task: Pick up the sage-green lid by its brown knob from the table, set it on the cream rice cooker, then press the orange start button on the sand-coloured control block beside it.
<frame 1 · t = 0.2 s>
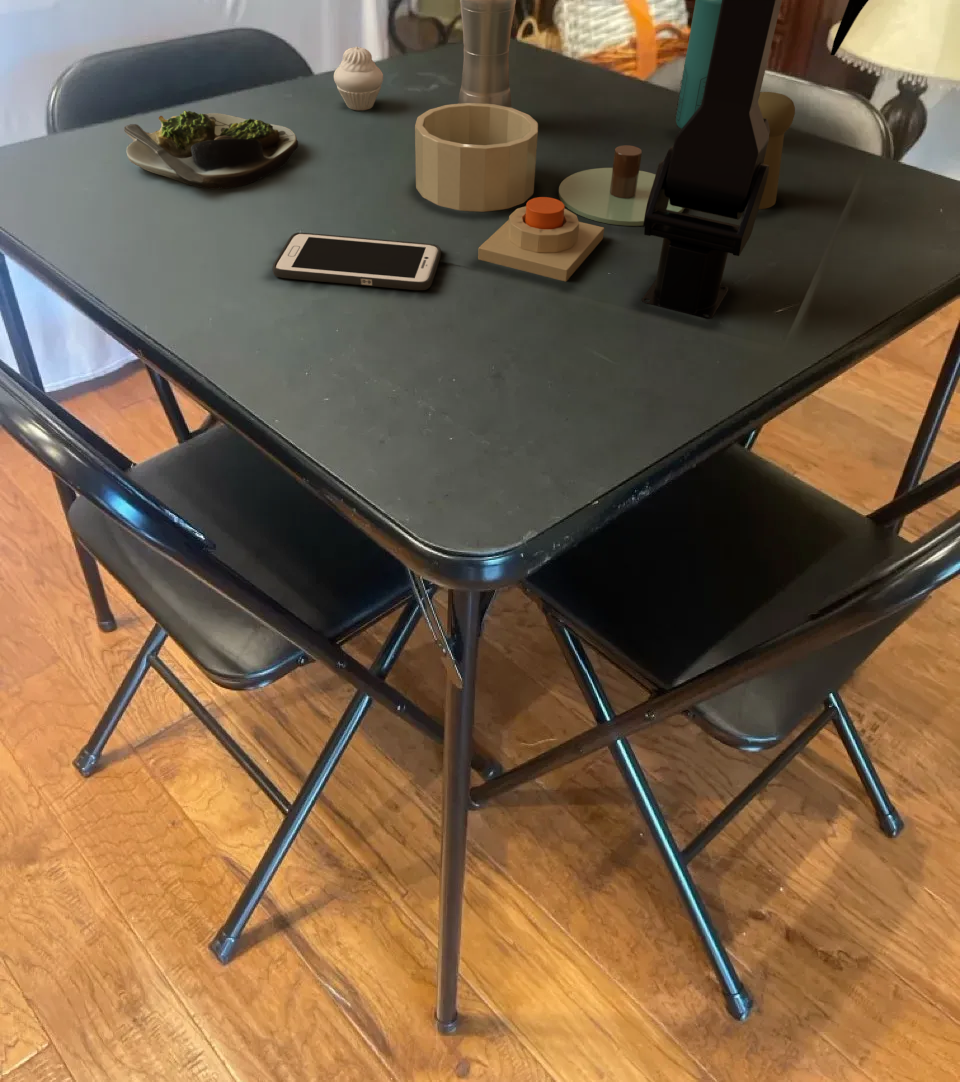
hand: (786, 47, 92), 14 cm above the table, tool pointing down, fingers open, 9 cm apart
muffin: (360, 107, 117), on the table
beverage bottle: (697, 138, 113), on the table
salad plate: (216, 161, 104), on the table
cell phone: (359, 268, 86), on the table
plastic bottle: (483, 130, 113), on the table
control block: (541, 253, 90), on the table
lid: (621, 197, 98), point 1 cm above the table
cork: (746, 204, 100), on the table
start button: (544, 214, 87), point 4 cm above the table, slide at 0.1 cm
pot: (475, 191, 100), on the table
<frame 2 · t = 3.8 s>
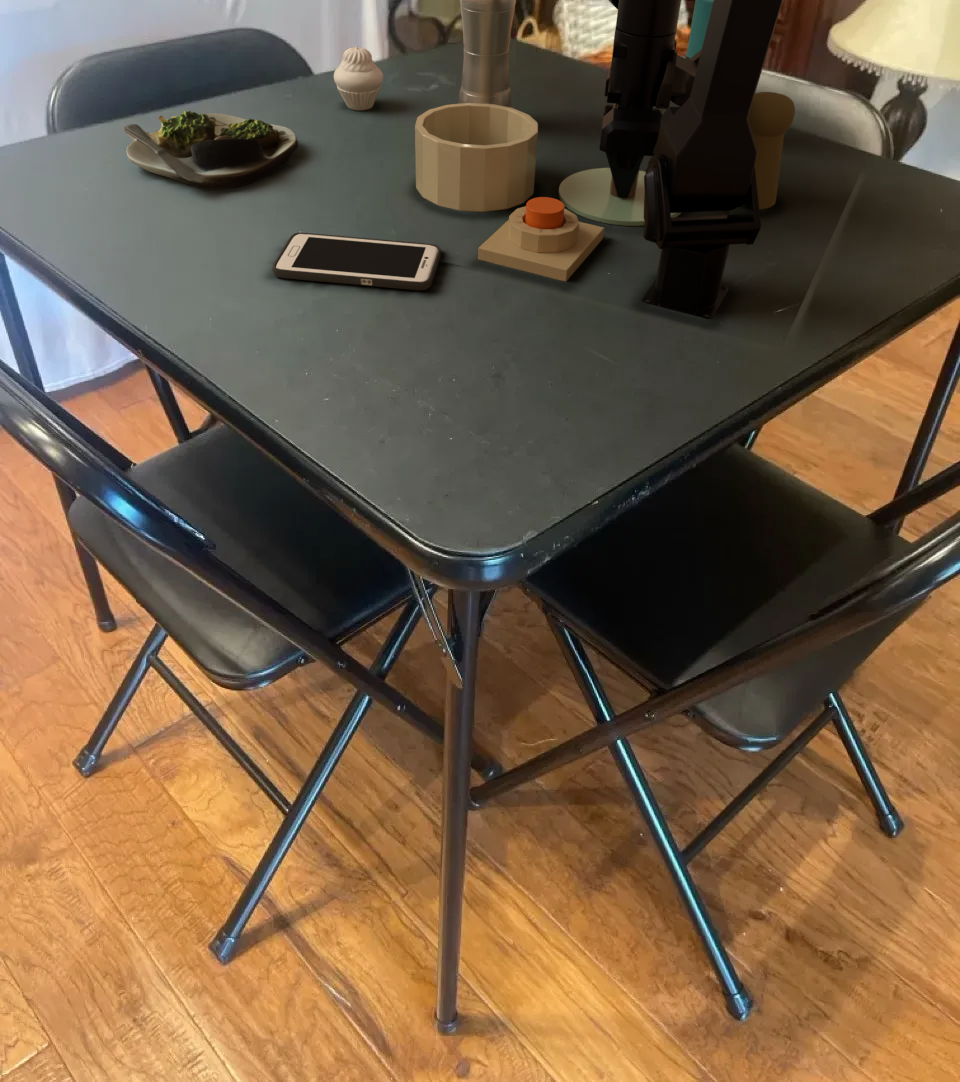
hand: (622, 191, 98), 1 cm above the table, tool pointing down, fingers closed on lid, 3 cm apart
lid: (621, 197, 98), point 1 cm above the table, touching gripper
everything else where it was.
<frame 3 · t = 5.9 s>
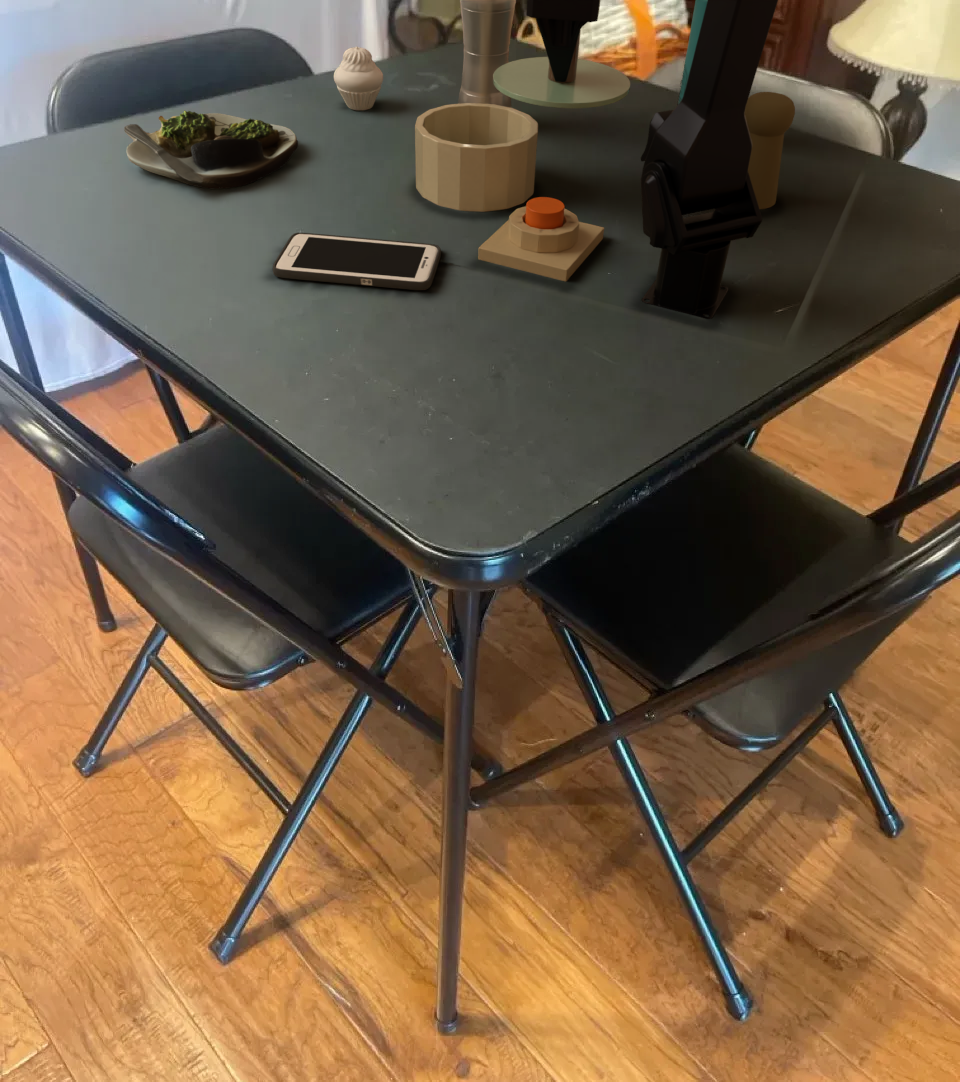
hand: (561, 76, 91), 12 cm above the table, tool pointing down, fingers closed on lid, 3 cm apart
lid: (561, 83, 91), point 11 cm above the table, touching gripper
everything else where it was.
when the fingers open (8 cm above the table, at t = 8.1 s): lid stays where it is, resting on pot.
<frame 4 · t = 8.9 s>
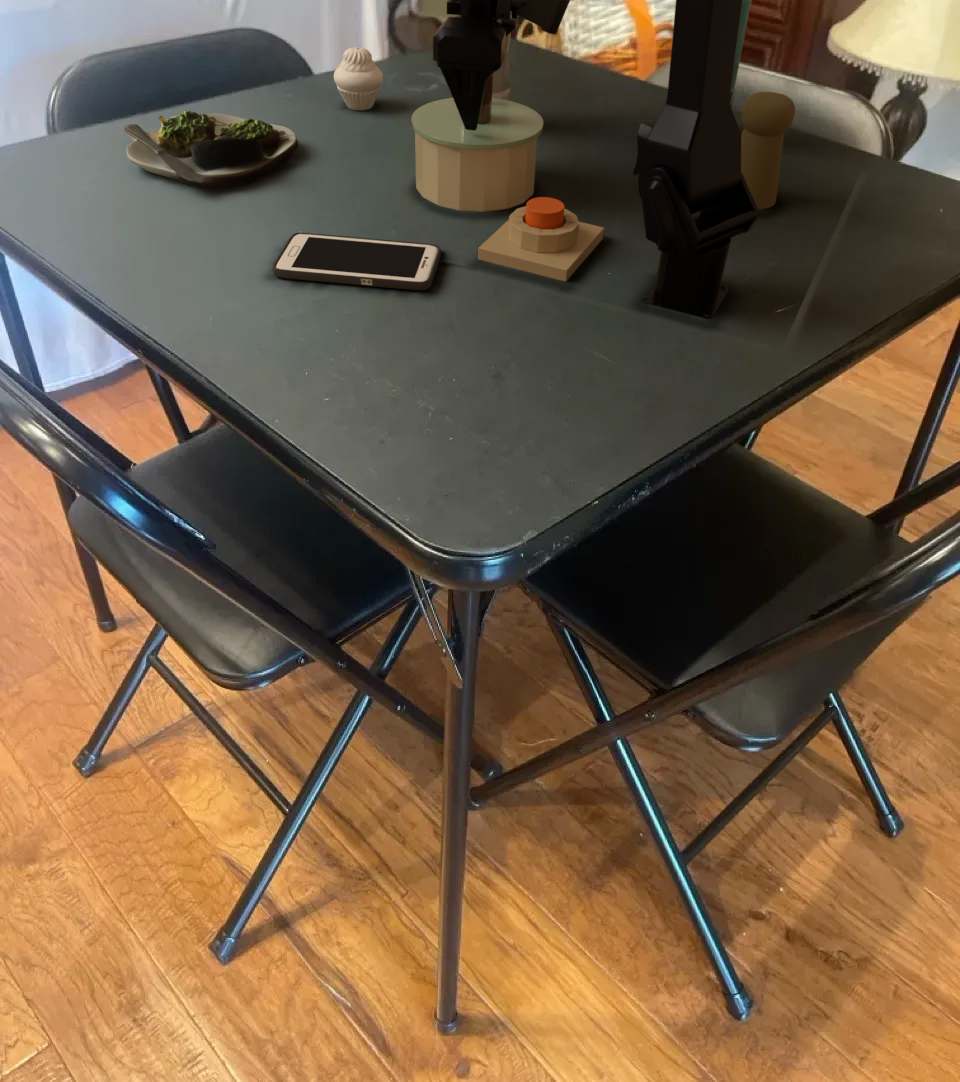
hand: (477, 113, 94), 8 cm above the table, tool pointing down, fingers open, 9 cm apart
lid: (477, 124, 95), point 7 cm above the table, touching pot
everything else where it was.
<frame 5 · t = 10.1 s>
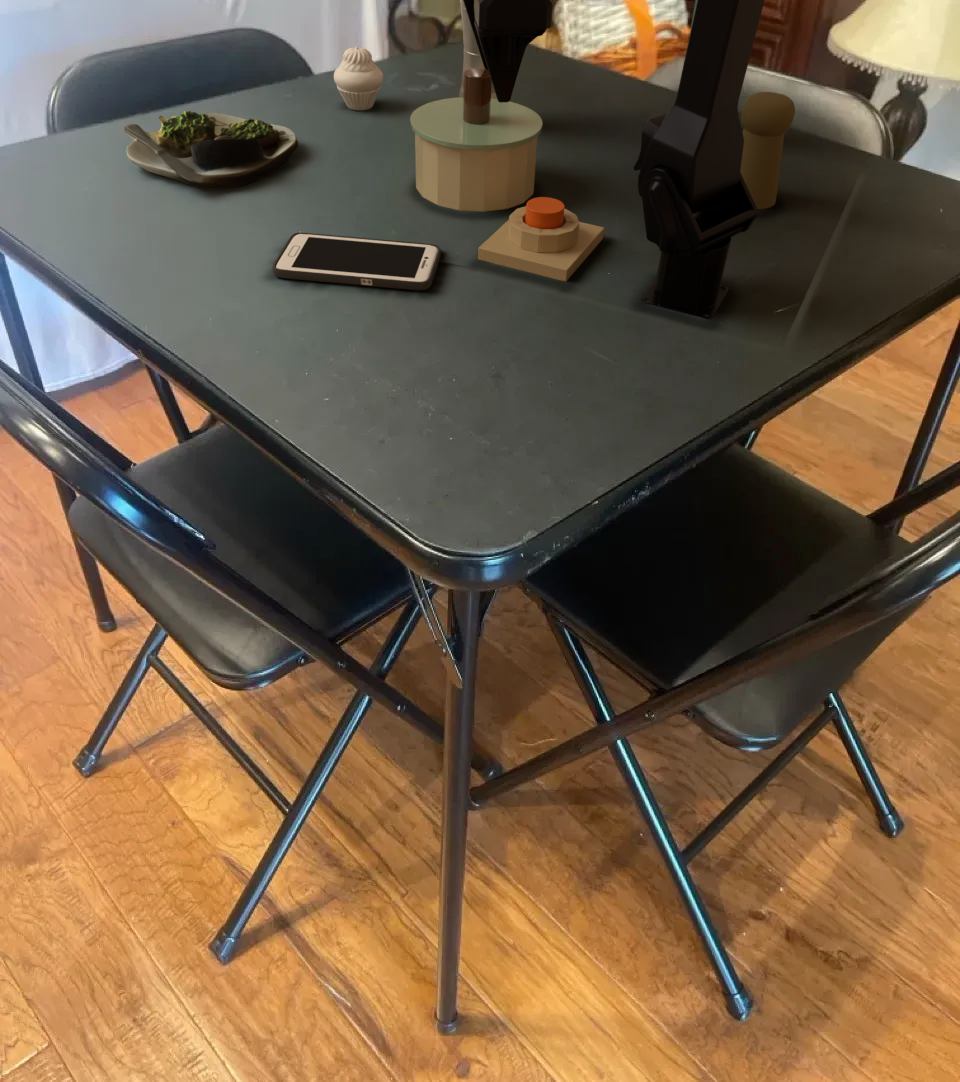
hand: (496, 84, 89), 12 cm above the table, tool pointing down, fingers open, 9 cm apart
lid: (476, 124, 95), point 7 cm above the table, touching gripper
everything else where it was.
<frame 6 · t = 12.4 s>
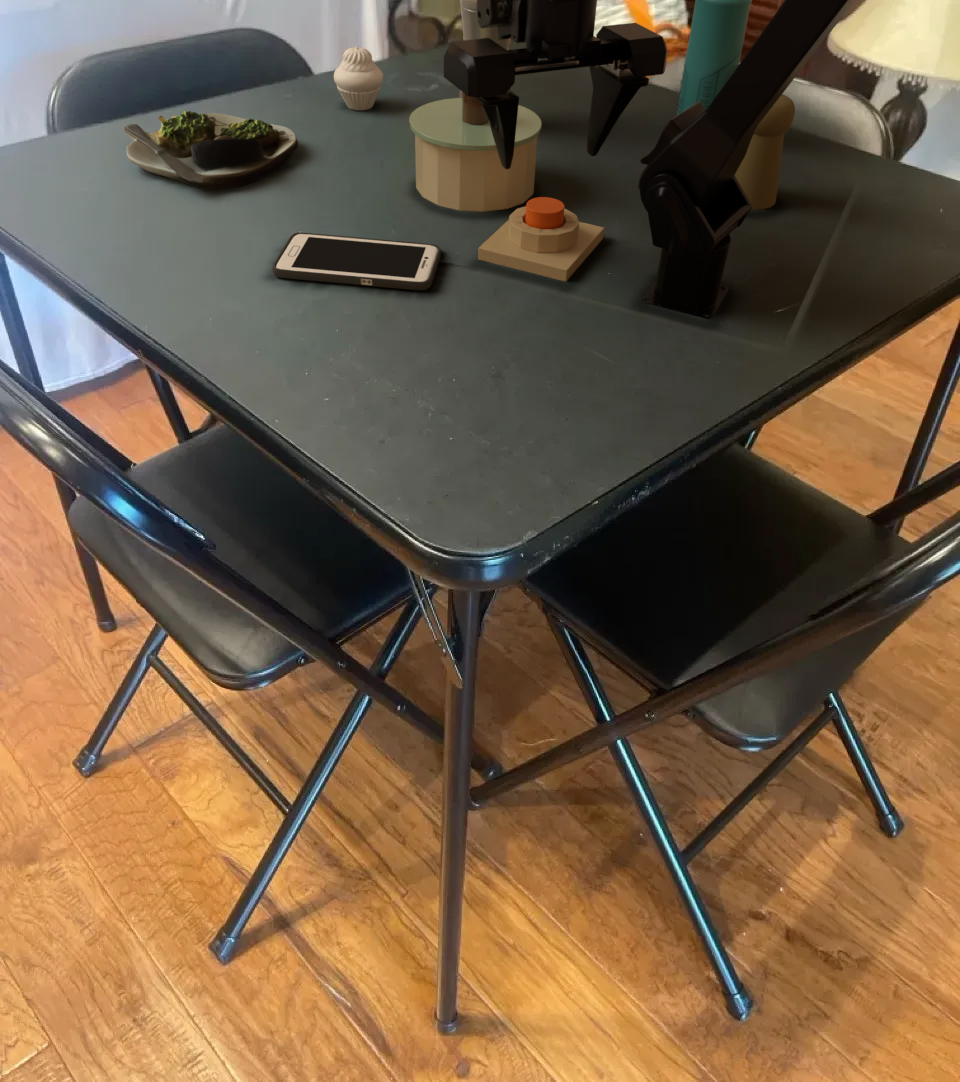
hand: (549, 161, 84), 9 cm above the table, tool pointing down, fingers open, 8 cm apart
lid: (475, 125, 95), point 7 cm above the table, touching pot
everything else where it was.
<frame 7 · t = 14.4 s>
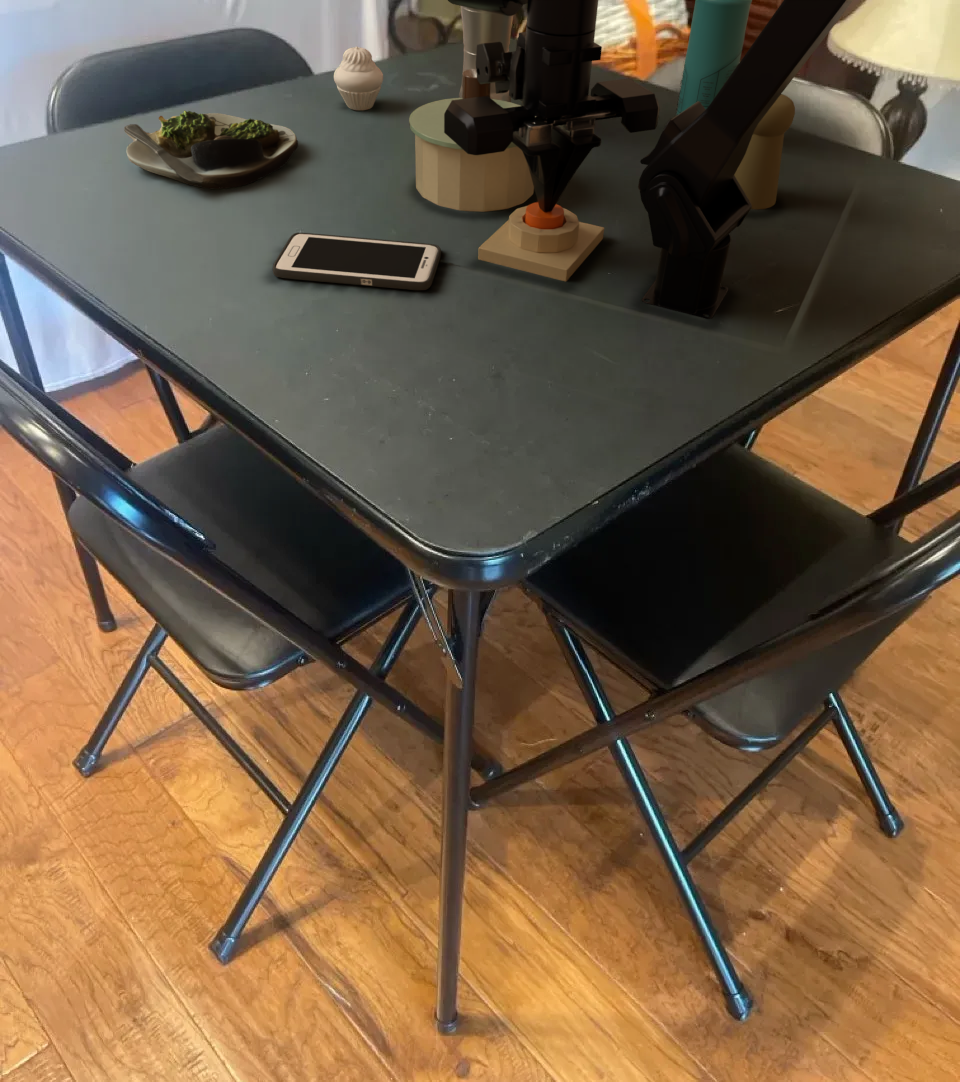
hand: (545, 209, 87), 4 cm above the table, tool pointing down, fingers closed, pressing on start button
start button: (544, 218, 87), point 4 cm above the table, slide at -0.3 cm, touching gripper
everything else where it was.
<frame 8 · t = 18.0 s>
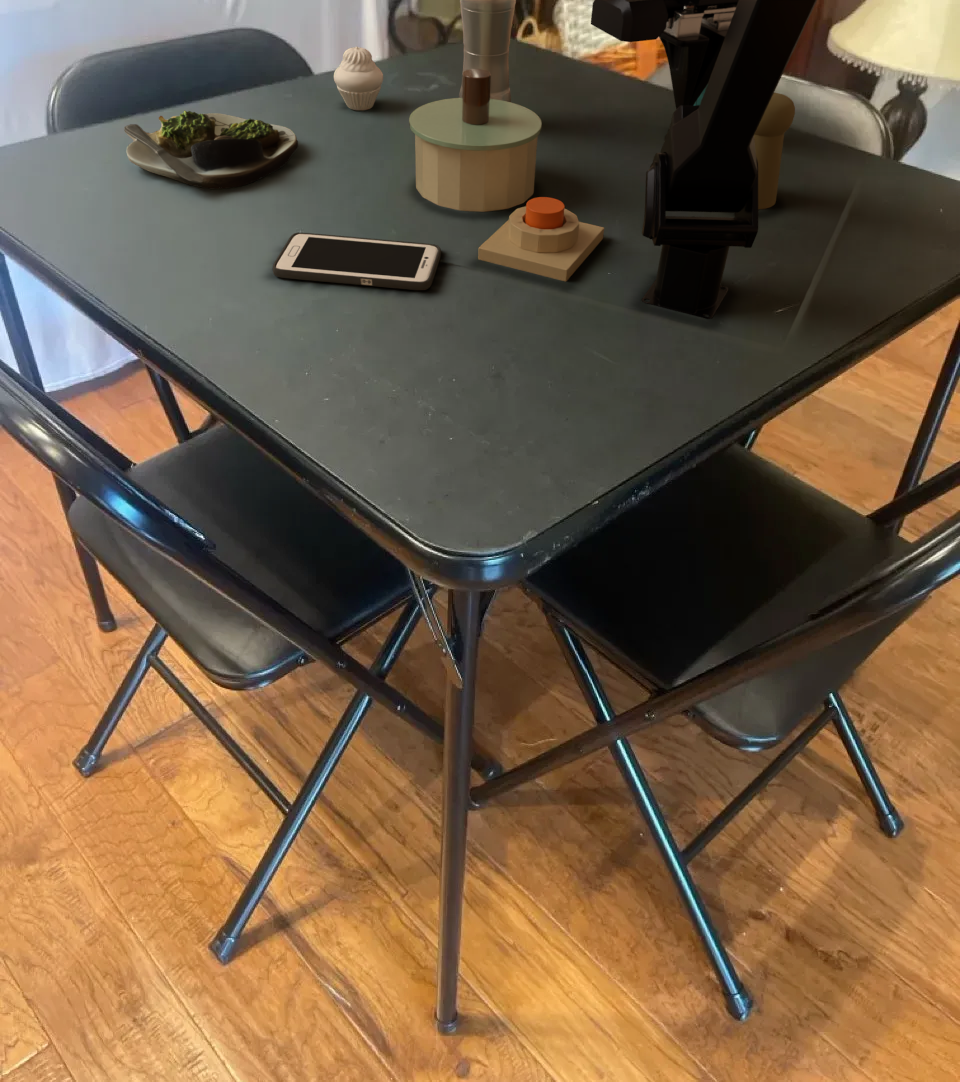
hand: (682, 110, 85), 12 cm above the table, tool pointing down, fingers closed
start button: (544, 214, 87), point 4 cm above the table, slide at 0.1 cm
everything else where it was.
at the end: lid 0.3 cm off-centre on the pot, point 7.0 cm above the pot's base; lid tilted 0°; start button pushed in 0.9 cm at the most during the clip, back to where it started at the end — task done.
